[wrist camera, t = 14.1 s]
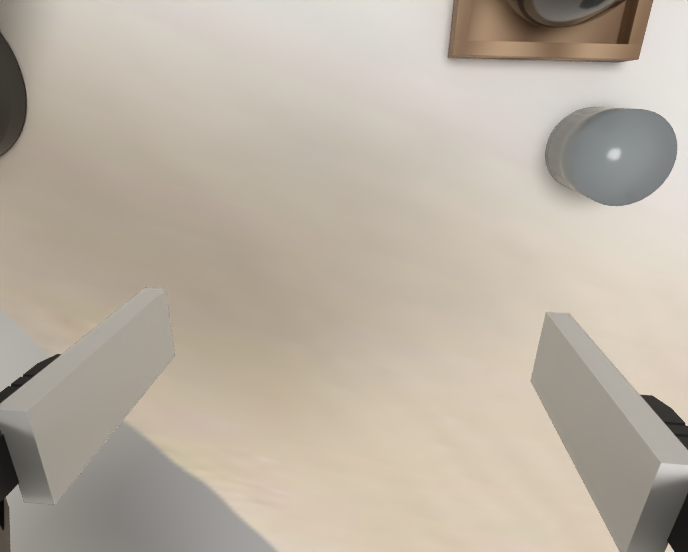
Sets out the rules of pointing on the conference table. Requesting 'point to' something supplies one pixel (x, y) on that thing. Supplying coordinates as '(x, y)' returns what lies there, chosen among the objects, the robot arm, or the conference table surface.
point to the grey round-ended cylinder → (612, 153)
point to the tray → (545, 34)
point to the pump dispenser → (562, 11)
